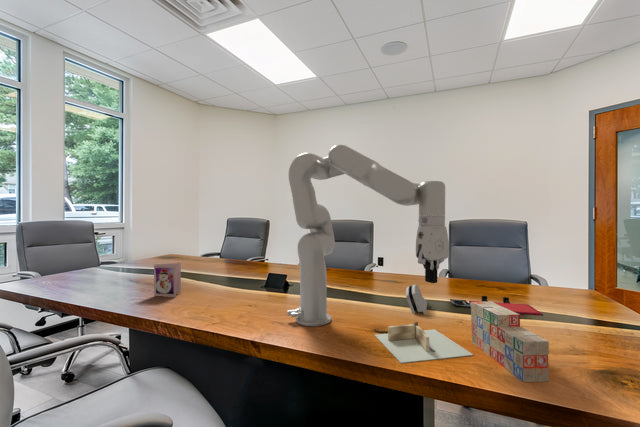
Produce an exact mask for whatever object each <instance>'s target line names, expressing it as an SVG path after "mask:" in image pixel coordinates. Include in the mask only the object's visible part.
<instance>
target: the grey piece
mask: <svg viewBox="0 0 640 427" xmlns="http://www.w3.org/2000/svg"><path fill="white" fill-rule="evenodd" d="M405 297H406V301H407V303H408V305H409V310H410V311H411V314H415V313H416V312H417V313H420V312H422V313H423V315H426V314H427V313H426V312H427V307H428V301H427V298H425V297H423V295H422V292H421V290H420V287H419V286H418V284H413V285H409V286H407V287H406V289H405Z"/></svg>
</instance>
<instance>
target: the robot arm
mask: <svg viewBox="0 0 640 427" xmlns="http://www.w3.org/2000/svg"><path fill="white" fill-rule="evenodd" d="M288 169H289V170H288V181H289V186H290V192H291V196H292V203H293V208H294V214H295V215H294V216H295V220H296V223H297V225H298V227H300V228H301V229H304V230H309V231H310V232H308V233H306V234H303V235H302V236H301V237H300V239H299V240H298V242H297V255H298V261H299V262H298V263H299V282H300V283H299V290H300V291H299V295H300V296H299V298H300V299H299V302H300V304H299V305H298V308H296V309H288V310H287V311H286V314H287V316H289V317H290V316H291V318H295V322H296V323H297V324H299V325H302V326H306V327H319V326H325V325H327V324H330V322H331V321H332V316H331V315H330V314H329V313H327V309H328V308H327V307H328V306H327V288H328V287H327V265H326V260H325V257H326V256H329V255H330V254H332V253H333V251H334V249H335V247H336V246H335V244H336V241H335V234H334V229H333V224H332V219H331V215H330V212H329V210H328V208H326V206H324V205H322V204H318V201H317V198H316V197H317V196H316V191H315V187H314V185H313V183H312V179H314V180H319V181H323V180H327V179H332V178H335V177H338V176H343V175H347V176H348V177H350V178H351V179H352V180H353V179H354V180H355V181H357V182H358V183H360V184H362V185H364V187H368V188H369V189H372V190H373V191H375V192H376V193H378V194H380V195H382V196H384V197H385V198H387V199H388V200H390V201H392V202H394V203H396V204H398V205H401V206H406V207H407V206H417V205H418V225H417V231H416V240H415V257H416V258H417V263H418V264H420V265H422V266H423V269H424V270H425V271H424V281H425V282H426V283H431V284H437V283H438V270H439V268H440V264H441V263H444V262H445V260H446V259H448V258H449V255H450V254H449V253H450V249H449V247H450V246H449V234H448V229H447V226H446V184H445V182H443V181H441V180H440V181H439V180H426V181H422V182H420V183H415V182H411V180H410V179H409V180H408V179H407V178H405V177H403V176H401V175H399V174H397V173H396V172H393V171H391V170H390V169H388V168H386V167H384V166H382V165H381V164H380V163H379V162H377V161H375V160H373V159H372V158H370V157H367V156H366V155H365V154H363V153H360V152H359V151H356V150H355V149H353V148H351V147H349V146H347V145H346V144H345V145H344V144H335V145H334V146H332V147H331V148H330V149H329V151H328V154H327V156H325V157H321V156H319V155H317V154H315V153H312V152H303V153H301V154H300V153H299V155H297V156H296V157H295V158H294V159H293V160H292V162H291V164H290V166H289V168H288Z"/></svg>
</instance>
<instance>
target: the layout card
mask: <svg viewBox="0 0 640 427" xmlns="http://www.w3.org/2000/svg"><path fill="white" fill-rule="evenodd" d="M422 330H423V329H422ZM423 331H424V332H425V333H426V334H427V335H428V336H429V346H430V351H426V350H425V348H424V347H423V346H422V345H421V344H420V342H419V341H418V340H417V339H416V338H415V339H404V340H394V341H389V340H388V333H378V334H374V337H376V339H378V341H379V342H380V343H381V344H382V345H383V346H384V347H385V348H386V349H387V350H388V351H389V353H391V355H393V357H394V358H395V359H396V360H397V361H398V362H399V363H400V364H406V363H407V364H408V363H416V362H423V361H425V362H426V361H435V360H442V359H452V358H461V357H470V356H474V353H472V352H470V351H469V350H468V349H466V348H464V347H463V346H461V345H459V344H458V343H456V342H455V341H453V340H451V339H450V338H449V337H447V336H446V335H444V334H443V333H441V332H440V331H438V330H436V329H424V330H423Z"/></svg>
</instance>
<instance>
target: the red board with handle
mask: <svg viewBox="0 0 640 427" xmlns="http://www.w3.org/2000/svg"><path fill="white" fill-rule="evenodd" d="M502 298H503V299H502V302H499V301H498V302H496V301H492V302H493V303H495V304H497V305H499V306H502V307H504V308H506V309H509V310H511V311H513V312H515V313H517V314H519V315H527V316H528V315H529V316H530V315H531V316H532V315H533V316H543V315H544V314H543V313H542V312H540V311H539V310H538V309H536V308H534V306H533V307H532V306H531V305H530V304H526V303H515V302H514V303H513V302H512V303H511V302H510V297H507V296H503V297H502ZM449 301H450V303H452V305H453V306H461V307H470V308H471V302H489V300H488V296H487V295H482V296H481V300H480V301H479V300H468V301H469V302H468V301H467V300H466V299H454V298H453V299H451V298H450V299H449Z"/></svg>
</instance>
